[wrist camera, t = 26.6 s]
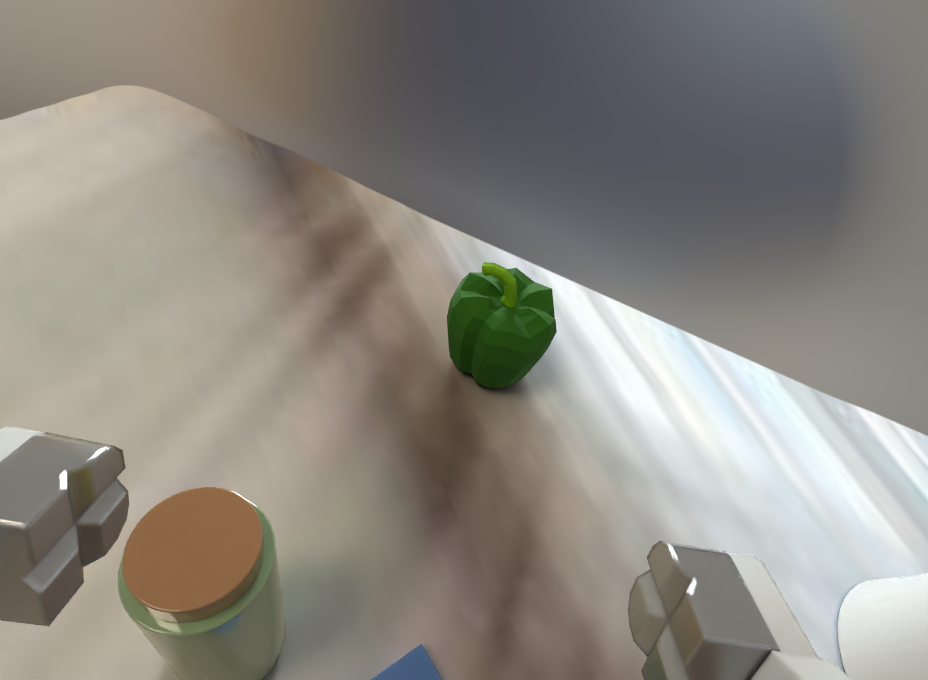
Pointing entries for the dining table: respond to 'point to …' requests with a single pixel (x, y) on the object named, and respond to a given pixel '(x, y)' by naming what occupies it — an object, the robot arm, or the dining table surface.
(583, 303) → the dining table surface
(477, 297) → the bell pepper
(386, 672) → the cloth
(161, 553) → the spice jar
